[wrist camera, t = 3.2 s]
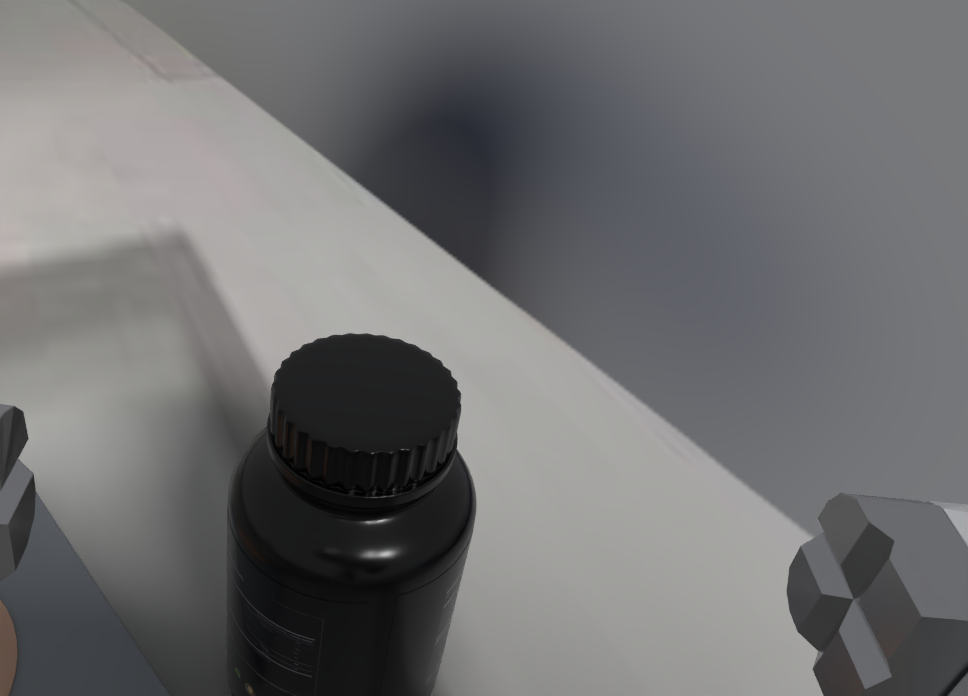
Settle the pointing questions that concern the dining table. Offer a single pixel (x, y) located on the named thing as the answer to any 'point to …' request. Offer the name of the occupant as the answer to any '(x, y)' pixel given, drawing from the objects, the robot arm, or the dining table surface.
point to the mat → (64, 627)
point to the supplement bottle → (348, 525)
